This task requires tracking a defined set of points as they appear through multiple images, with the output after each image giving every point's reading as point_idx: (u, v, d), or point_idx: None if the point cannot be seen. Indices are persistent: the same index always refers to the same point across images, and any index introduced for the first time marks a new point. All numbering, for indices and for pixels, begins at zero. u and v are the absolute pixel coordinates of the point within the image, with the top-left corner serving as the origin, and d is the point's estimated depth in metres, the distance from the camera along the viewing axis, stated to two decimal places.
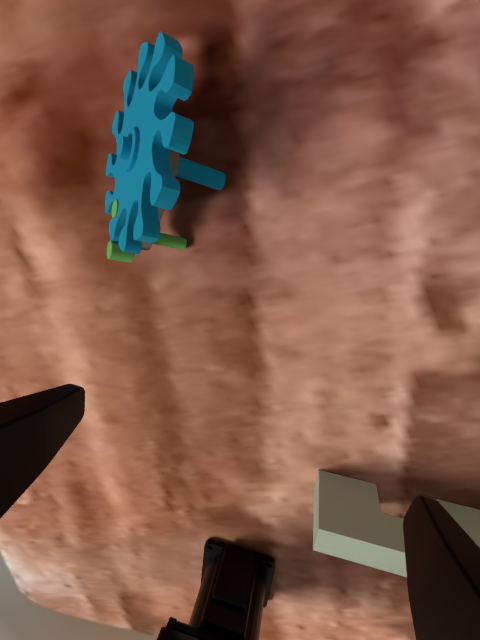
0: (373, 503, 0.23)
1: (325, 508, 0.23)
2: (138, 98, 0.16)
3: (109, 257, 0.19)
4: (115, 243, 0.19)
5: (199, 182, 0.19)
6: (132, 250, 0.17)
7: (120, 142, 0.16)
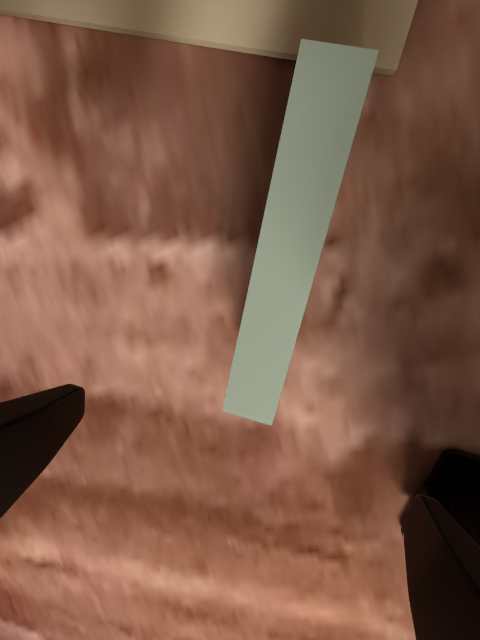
0: None
1: None
2: None
3: None
4: None
5: None
6: None
7: None
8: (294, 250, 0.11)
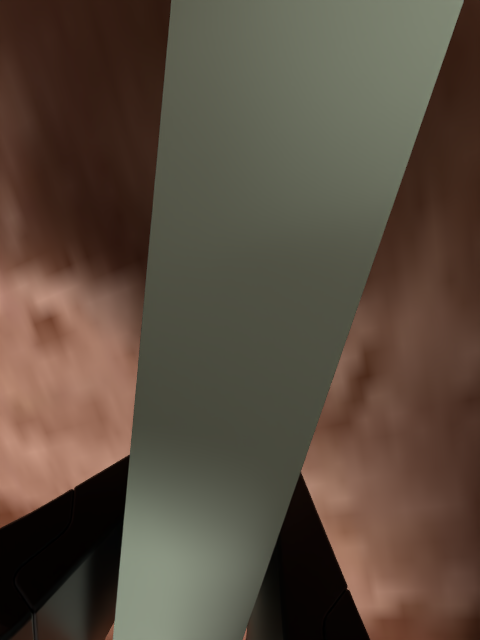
0: None
1: None
2: None
3: None
4: None
5: None
6: None
7: None
8: (248, 365, 0.03)
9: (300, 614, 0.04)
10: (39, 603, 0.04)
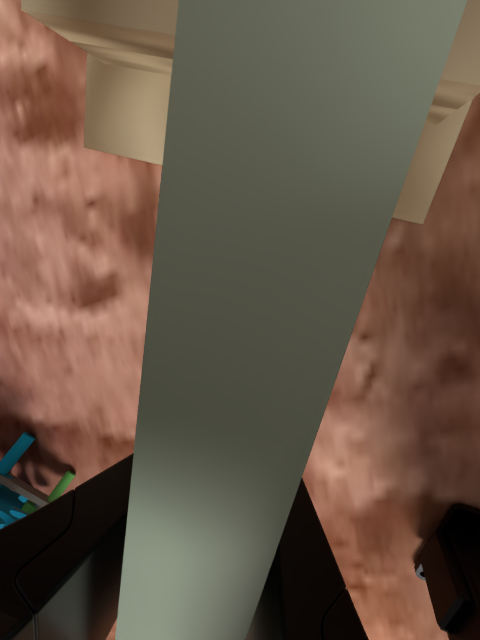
0: None
1: None
2: None
3: None
4: None
5: (19, 454, 0.27)
6: None
7: None
8: (252, 367, 0.03)
9: (298, 613, 0.05)
10: (40, 603, 0.04)
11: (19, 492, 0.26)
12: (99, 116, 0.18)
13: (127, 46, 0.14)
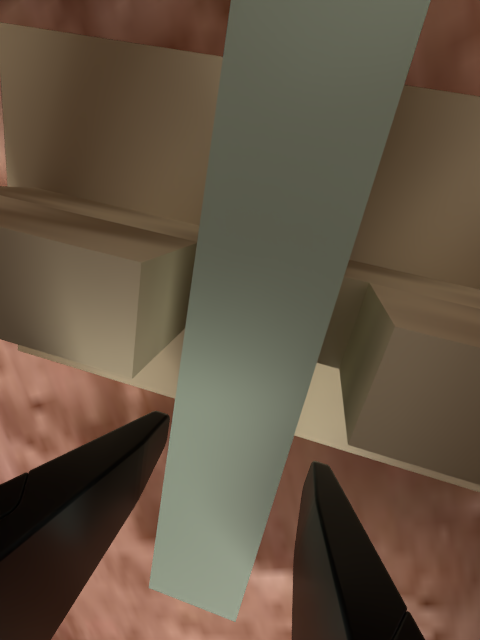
0: None
1: None
2: None
3: None
4: None
5: None
6: None
7: None
8: (266, 329, 0.05)
9: (366, 639, 0.04)
10: None
11: None
12: None
13: None
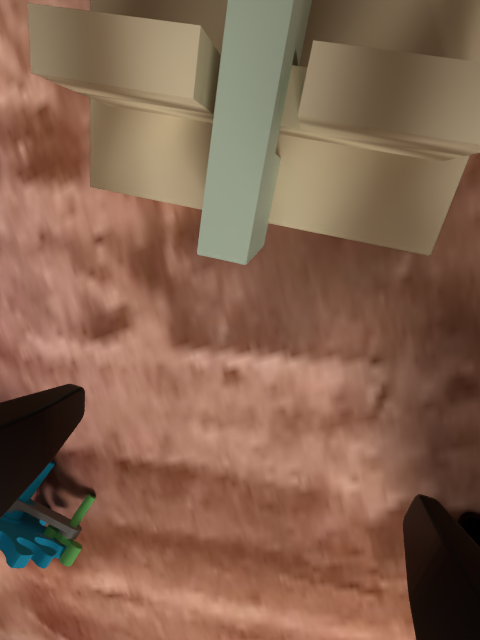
0: None
1: None
2: None
3: None
4: (61, 556, 0.26)
5: (40, 481, 0.27)
6: (45, 561, 0.24)
7: None
8: (258, 53, 0.11)
9: None
10: None
11: (42, 519, 0.26)
12: (105, 156, 0.18)
13: (136, 99, 0.14)
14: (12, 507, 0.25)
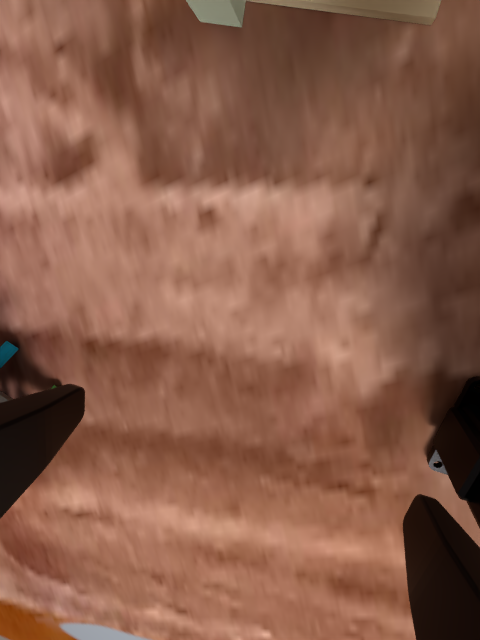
0: None
1: None
2: None
3: None
4: None
5: (0, 363, 0.24)
6: None
7: None
8: None
9: None
10: None
11: (0, 401, 0.23)
12: None
13: None
14: None
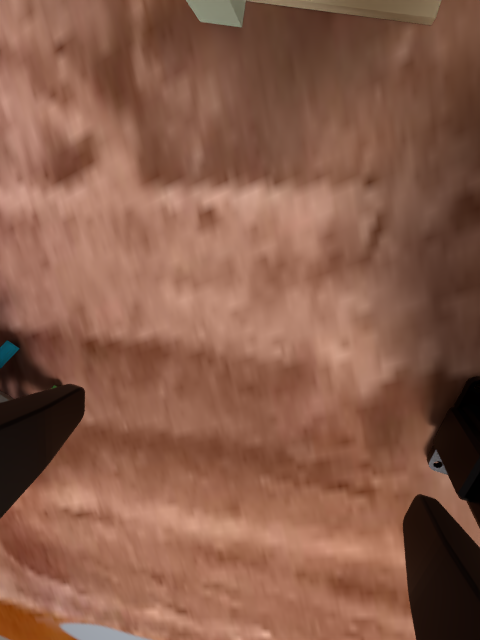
0: None
1: None
2: None
3: None
4: None
5: (1, 362, 0.24)
6: None
7: None
8: None
9: None
10: None
11: (0, 400, 0.23)
12: None
13: None
14: None
